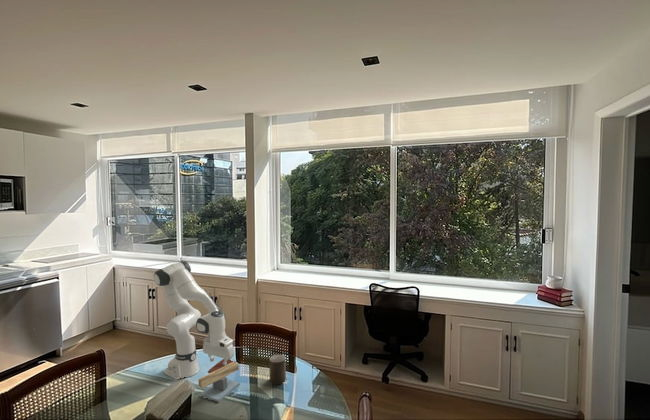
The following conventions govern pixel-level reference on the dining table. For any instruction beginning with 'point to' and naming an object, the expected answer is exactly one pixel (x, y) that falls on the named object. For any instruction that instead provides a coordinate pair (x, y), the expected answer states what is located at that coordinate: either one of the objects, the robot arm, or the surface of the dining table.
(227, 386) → the ridge stand
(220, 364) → the wooden tablet
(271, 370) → the pillar candle
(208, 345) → the robot arm
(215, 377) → the oak rod
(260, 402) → the dining table surface
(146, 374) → the dining table surface
